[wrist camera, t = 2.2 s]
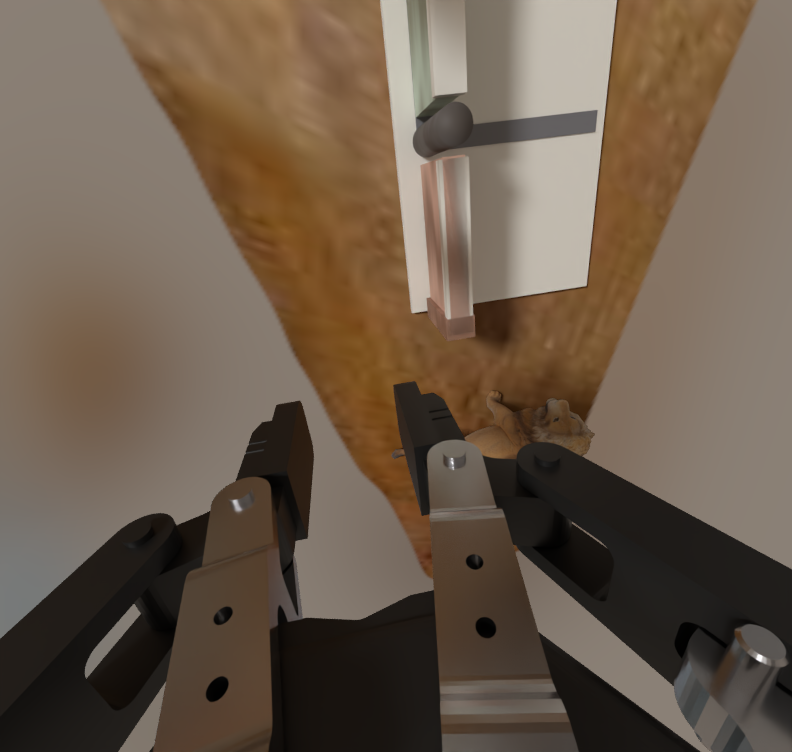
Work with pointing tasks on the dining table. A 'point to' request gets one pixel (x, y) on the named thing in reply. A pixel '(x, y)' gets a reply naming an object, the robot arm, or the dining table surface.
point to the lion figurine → (528, 429)
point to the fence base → (439, 74)
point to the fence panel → (449, 245)
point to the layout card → (514, 141)
